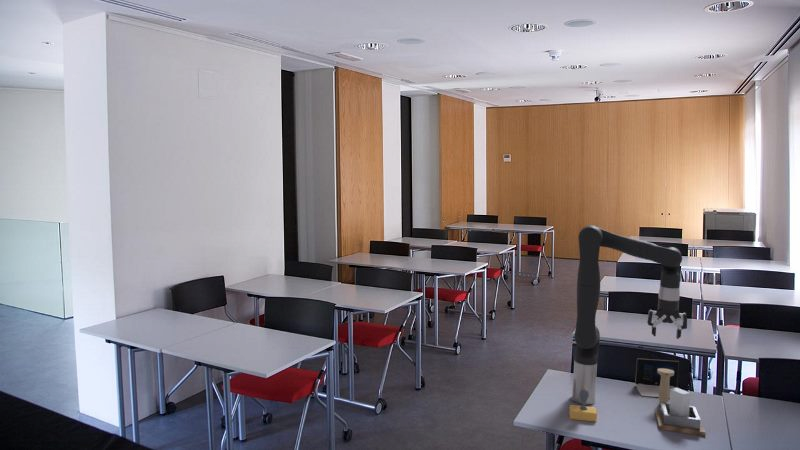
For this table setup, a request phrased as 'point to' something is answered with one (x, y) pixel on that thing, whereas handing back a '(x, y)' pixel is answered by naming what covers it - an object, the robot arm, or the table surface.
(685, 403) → the skincare box
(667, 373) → the handle
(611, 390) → the table surface
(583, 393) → the rubber stamp
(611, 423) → the table surface
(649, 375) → the laptop
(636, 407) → the table surface
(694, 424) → the socket board
